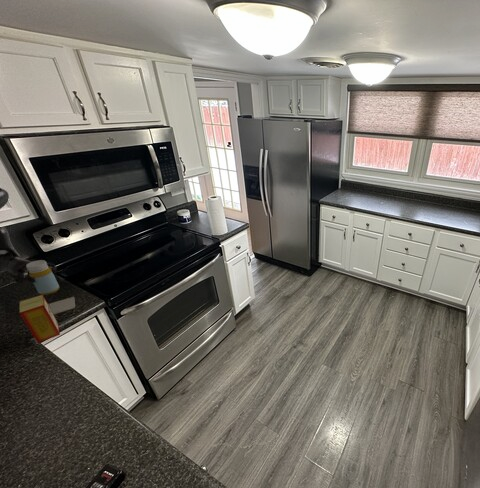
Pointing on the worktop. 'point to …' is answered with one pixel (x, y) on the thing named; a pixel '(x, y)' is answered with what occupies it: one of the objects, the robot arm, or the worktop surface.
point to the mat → (62, 305)
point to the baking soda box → (39, 318)
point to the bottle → (42, 277)
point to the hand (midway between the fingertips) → (44, 276)
